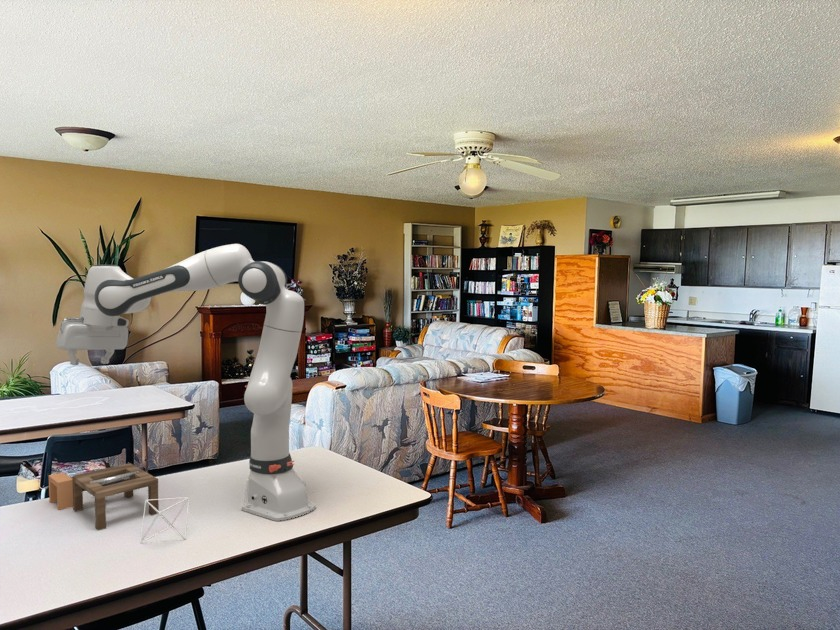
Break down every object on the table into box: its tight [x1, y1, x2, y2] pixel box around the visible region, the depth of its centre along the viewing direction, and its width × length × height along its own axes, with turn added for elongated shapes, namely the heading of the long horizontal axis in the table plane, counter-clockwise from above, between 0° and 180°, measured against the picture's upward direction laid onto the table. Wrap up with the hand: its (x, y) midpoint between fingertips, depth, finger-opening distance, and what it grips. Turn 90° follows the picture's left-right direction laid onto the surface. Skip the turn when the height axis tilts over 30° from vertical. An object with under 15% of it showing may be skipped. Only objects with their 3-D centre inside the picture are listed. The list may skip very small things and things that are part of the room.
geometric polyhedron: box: [139, 496, 190, 544], centre depth 155 cm, size 12×11×9 cm
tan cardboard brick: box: [48, 471, 73, 511], centre depth 176 cm, size 9×4×8 cm, turn 47°
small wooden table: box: [71, 462, 160, 531], centre depth 170 cm, size 20×16×10 cm
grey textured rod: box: [90, 471, 139, 486], centre depth 170 cm, size 2×13×2 cm, turn 136°
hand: (89, 364), depth 176 cm, fingers open, 8 cm apart
